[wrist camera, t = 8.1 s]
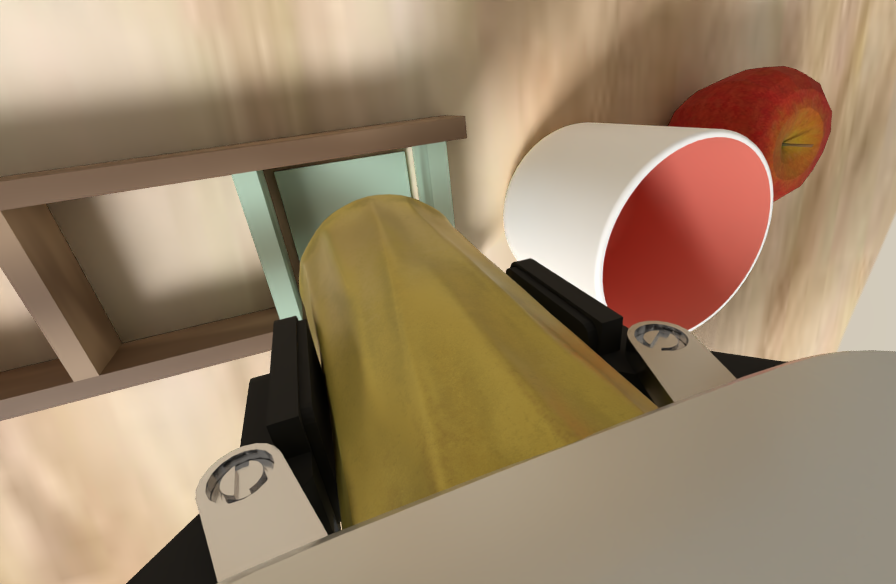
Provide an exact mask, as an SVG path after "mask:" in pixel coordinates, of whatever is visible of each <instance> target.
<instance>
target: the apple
mask: <svg viewBox="0 0 896 584" xmlns="http://www.w3.org/2000/svg"><path fill="white" fill-rule="evenodd" d="M831 118H832V111H831V109H830V106H829V104H828V102H827V100H826V98H825V95H824V93H823V90H822V88H821V85H820V84H819V83H818V82H816V81H815V80H813V79H812V78H810V77H809V76H807V75H806V74H804V73H802V72H800V71H798V70H796V69H793V68H789V67H786V66H778V67H763V68H756V69H749V70H745V71H742V72H740V73H737V74H734V75H732V76H729V77H727V78H725V79H723V80H720V81H718V82H716V83H714V84H712V85H710V86H708V87H706V88H703V89H701V90H699V91H697V92H696V93H695V94H693V95H692V96H691V97H690V98H688V99H687V100H686V101H685V102H684V103H683V104H682V105H681V106H680V107H679V108H678V109H677V110H676V111H675V112H674V114H673V116H672V119H671V121H670V123H669V125H668V126H671V127H690V128H710V129H725V130H730V131H734V132H737V133H739V134H741V135H743V136H745V137H747V138H748V139H749V140H751V141H752V142H753V143H754V144H755V145H756V146H757V147H758V148H759V149H760V150H761V152H762V153H763V155H764V157H765V159H766V161H767V163H768V166H769V169H770V172H771V176H772V183H773V202H774V201H776V200H778V199H779V198H781V197H783V196H784V195H786V194H788V193H789V192H791V191H793V190H795V189H796V188H798V187H800V186H801V185H802V184H803V182H804V181H805V180H806V178H807V177H808V176H809V174H810V173H811V172H812V170H813V168H814V167H815V165H816V163H817V161H818V160H819V158H820V156H821V154H822V153H823V150H824V148H825V145H826V142H827V140H828V137H829V134H830V132H831Z"/></svg>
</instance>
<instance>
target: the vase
mask: <svg viewBox="0 0 896 584" xmlns="http://www.w3.org/2000/svg"><path fill="white" fill-rule="evenodd" d="M299 291H300V296H301V300H302V302H303V304H304V307H305V311H306V316H307V319H308V323H309V327H310V331H311V335H312V339H313V342H314V345H315V349H316V352H317V355H318V358H319V362H320V365H321V369H322V374H323V379H324V384H325V389H326V394H327V400H328V404H329V409H330V419H331V427H332V436H333V447H334V459H335V471H336V482H337V490H338V499H339V507H340V515H341V524H342V530H343V529H345V528H348V527H350V526H353V525H356V524H358V523H361V522H363V521H366V520H368V519H371V518H373V517H376V516H378V515H381V514H384V513H386V512H389V511H391V510H394V509H396V508H399V507H402V506H404V505H407V504H409V503H412V502H414V501H417V500H420V499H422V498H425V497H427V496H430V495H432V494H435V493H438V492H440V491H443V490H445V489H448V488H451V487H453V486H456V485H458V484H461V483H463V482H466V481H469V480H471V479H474V478H476V477H479V476H482V475H484V474H487V473H490V472H492V471H495V470H498V469H500V468H503V467H506V466H509V465H511V464H514V463H517V462H520V461H523V460H525V459H528V458H531V457H534V456H537V455H540V454H542V453H545V452H548V451H551V450H554V449H557V448H560V447H563V446H566V445H568V444H571V443H574V442H577V441H579V440H581V439H583V438H585V437H587V436H589V435H592V434H594V433H596V432H598V431H601V430H603V429H606V428H608V427H611V426H613V425H616V424H618V423H621V422H623V421H626V420H629V419H631V418H634V417H636V416H639V415H642V414H644V413H647V412H650V411H652V410H655V409H658V408H659V407H657V406H656V405H655V404H654V403H653V402H652V401H651V400H649V399H648V398H647V397H646V396H645V395H644V394H642V393H641V392H640V391H639V390H638V389H637V388H636V387H634V386H633V385H632V384H631V383H630V382H629V381H628V380H626V379H625V378H624V377H623V376H622V375H621V374H620V373H618V372H617V371H616V370H615V369H614V368H613V367H611V366H610V365H609V364H608V363H607V362H606V361H605V360H603V359H602V358H601V357H600V356H599V355H598V354H597V353H596V352H594V351H593V350H592V349H591V348H590V347H589V346H588V345H587V344H585V343H584V342H583V341H582V340H581V339H580V338H579V337H577V336H576V335H575V334H574V333H573V332H572V331H570V330H569V329H568V328H567V327H566V326H565V325H563V324H562V323H561V322H560V321H559V320H557V319H556V318H555V317H554V316H553V315H552V314H551V313H549V312H548V311H547V310H546V309H545V308H544V307H543V306H542V305H541V304H539V303H538V302H537V301H536V300H535V299H534V298H533V297H532V296H531V295H530V294H528V293H527V292H526V291H525V290H524V289H523V288H522V287H521V286H519V285H518V284H517V283H516V282H515V281H514V280H513V279H511V278H510V277H509V276H508V275H507V274H506V273H504V272H503V271H502V270H501V269H500V268H499V267H497V266H496V265H495V264H494V263H493V262H491V261H490V260H489V259H488V258H487V257H486V256H484V255H483V254H482V253H481V252H480V251H479V250H478V249H477V248H475V247H474V246H473V245H472V244H471V243H470V242H469V241H468V240H467V239H466V238H465V237H464V236H463V235H462V234H461V233H460V232H459V231H457V230H456V229H455V228H454V227H453V226H452V225H451V223H450V222H449V221H448V219H447V218H446V217H445V216H444V215H443V214H442V213H441V212H439V211H438V210H436V209H435V208H433V207H431V206H429V205H427V204H425V203H423V202H421V201H419V200H416V199H414V198H412V197H407V196H403V195H393V194H384V195H373V196H367V197H364V198H361V199H358V200H355V201H353V202H351V203H349V204H347V205H345V206H343V207H342V208H340V209H338V210H337V211H335V212H334V213H332V214H331V215H330V216H329V217H328V218H327V219H325V220H324V221H323V222H322V224H321V225H320V226H319V228H318V229H317V230H316V232H315V233H314V235H313V237H312V238H311V240H310V242H309V243H308V245H307V247H306V249H305V251H304V253H303V255H302V257H301V262H300V271H299Z"/></svg>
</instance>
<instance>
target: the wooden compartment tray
mask: <svg viewBox="0 0 896 584" xmlns="http://www.w3.org/2000/svg"><path fill="white" fill-rule="evenodd" d="M464 138H467V134H466V122H465V116H449V115H444V116H437V117H429V118H422V119H415V120H408V121H401V122H393V123H386V124H379V125H372V126H365V127H357V128H350V129H343V130H336V131H329V132H321V133H314V134H307V135H300V136H293V137H285V138H278V139H271V140H264V141H257V142H249V143H242V144H235V145H228V146H220V147H213V148H206V149H199V150H192V151H184V152H177V153H170V154H163V155H156V156H148V157H141V158H134V159H127V160H120V161H112V162H105V163H98V164H91V165H84V166H76V167H69V168H62V169H55V170H48V171H40V172H33V173H26V174H19V175H12V176H4V177H0V267H1V269H2V270H3V272H4V273H5V275H6V276H7V278H8V280H9V281H10V283H11V284H12V286H13V287H14V289H15V291H16V292H17V294H18V295H19V297H20V298H21V300H22V301H23V303H24V305H25V306H26V308H27V309H28V311H29V312H30V314H31V316H32V317H33V319H34V320H35V322H36V323H37V325H38V327H39V328H40V330H41V331H42V333H43V334H44V336H45V337H46V339H47V341H48V342H49V344H50V345H51V347H52V348H53V350H54V352H55V353H56V355H57V356H58V358H59V359H55V360H51V361H47V362H42V363H38V364H34V365H30V366H26V367H21V368H17V369H13V370H9V371H4V372H0V421H2V420H6V419H10V418H14V417H18V416H22V415H25V414H29V413H33V412H37V411H41V410H45V409H48V408H52V407H56V406H60V405H64V404H68V403H71V402H75V401H79V400H83V399H87V398H90V397H94V396H98V395H102V394H106V393H110V392H113V391H117V390H121V389H125V388H129V387H133V386H136V385H140V384H144V383H148V382H152V381H156V380H159V379H163V378H167V377H171V376H175V375H178V374H182V373H186V372H190V371H194V370H198V369H201V368H205V367H209V366H213V365H217V364H221V363H224V362H228V361H232V360H236V359H240V358H244V357H247V356H251V355H255V354H259V353H263V352H267V351H270V350H272V338H273V324H274V321H276V320H280V319H284V318H288V317H292V316H297V318H298V320H303V319H306V320H307V322H308V319H307V316H306V311H305V307H304V304H303V302H302V300H301V296H300V293H299V290H298V286H297V283H296V280H295V276H294V273H293V270H292V266H291V263H290V260H289V256H288V253H287V250H286V246H285V243H284V240H283V236H282V233H281V230H280V226H279V223H278V220H277V216H276V213H275V210H274V206H273V203H272V200H271V196H270V193H269V190H268V186H267V183H266V180H265V176H264V173H263V170H265V169H271V168H278V167H284V166H291V165H297V164H304V163H310V162H316V161H323V160H329V159H336V158H342V157H348V156H355V155H361V154H368V153H374V152H381V151H387V150H393V149H400V148H406V147H412V151H413V158H414V165H415V172H416V179H417V187H418V194H419V201H421V202H423V203H425V204H427V205H429V206H431V207H433V208H435V209H436V210H438V211H439V212H441V213H442V214H443V215H444V216H445V217H446V218H447V219H448V221H449V222H450V223H451V225H452V226H453V227H454V228H455V222H454V213H453V203H452V194H451V184H450V175H449V165H448V156H447V146H446V141H451V140H458V139H464ZM226 175H232V178H233V181H234V184H235V187H236V190H237V193H238V196H239V199H240V202H241V205H242V208H243V211H244V214H245V217H246V220H247V223H248V226H249V229H250V232H251V235H252V238H253V241H254V244H255V247H256V250H257V253H258V256H259V259H260V262H261V265H262V268H263V271H264V274H265V277H266V280H267V283H268V286H269V289H270V292H271V295H272V298H273V301H274V303H275V306H276V307H275V308H270V309H266V310H262V311H258V312H253V313H249V314H245V315H241V316H237V317H232V318H228V319H224V320H220V321H216V322H211V323H207V324H203V325H199V326H194V327H190V328H186V329H182V330H178V331H173V332H169V333H165V334H161V335H156V336H152V337H148V338H144V339H140V340H135V341H131V342H127V343H123V344H122V343H121V341H120V339H119V337H118V335H117V333H116V332H115V330H114V328H113V326H112V324H111V322H110V321H109V319H108V317H107V315H106V313H105V311H104V310H103V308H102V306H101V304H100V302H99V300H98V299H97V297H96V295H95V293H94V291H93V289H92V288H91V286H90V284H89V282H88V280H87V278H86V277H85V275H84V273H83V271H82V269H81V267H80V266H79V264H78V262H77V260H76V258H75V256H74V255H73V253H72V251H71V249H70V247H69V245H68V244H67V242H66V240H65V238H64V236H63V234H62V233H61V231H60V229H59V227H58V225H57V223H56V222H55V220H54V218H53V216H52V214H51V212H50V211H49V209H48V207H47V205H46V204H47V203H53V202H59V201H66V200H72V199H79V198H85V197H92V196H98V195H104V194H111V193H117V192H124V191H130V190H137V189H143V188H149V187H156V186H162V185H169V184H175V183H181V182H188V181H194V180H201V179H207V178H214V177H220V176H226ZM274 175H275V178H276V181H277V185H278V188H279V192H280V195H281V199H282V202H283V206H284V209H285V213H286V216H287V219H288V223H289V226H290V230H291V233H292V237H293V240H294V244H295V247H296V251H297V254H298V258H299V261H300V262H301V257H302V255H303V253H304V251H305V249H306V247H307V245H308V243H309V242H310V240H311V238H312V237H313V235H314V233H315V232H316V230H317V229H318V228H319V226H320V225H321V224H322V222H323V221H324V220H325V219H327V218H328V217H329V216H330V215H331V214H332V213H334V212H335V211H337V210H338V209H340V208H342V207H343V206H345V205H347V204H349V203H351V202H353V201H355V200H358V199H361V198H364V197H367V196H373V195H384V194H393V195H403V196H407V197H411V192H410V186H409V179H408V172H407V165H406V159H405V152H404V151H401V152H395V153H388V154H382V155H376V156H369V157H363V158H357V159H350V160H344V161H338V162H331V163H325V164H318V165H312V166H306V167H299V168H293V169H287V170H280V171H274ZM308 325H309V323H308ZM309 329H310V327H309ZM310 332H311V331H310Z"/></svg>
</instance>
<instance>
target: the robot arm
mask: <svg viewBox="0 0 896 584" xmlns="http://www.w3.org/2000/svg"><path fill="white" fill-rule="evenodd" d="M506 274H507V275H508V276H509V277H510V278H511V279H513V280H514V281H515V282H516V283H517V284H518V285H519V286H521V287H522V288H523V289H524V290H525V291H526V292H527V293H528V294H530V295H531V296H532V297H533V298H534V299H535V300H536V301H537V302H538V303H539V304H541V305H542V306H543V307H544V308H545V309H546V310H547V311H548V312H549V313H551V314H552V315H553V316H554V317H555V318H556V319H557V320H559V321H560V322H561V323H562V324H563V325H565V326H566V327H567V328H568V329H569V330H570V331H572V332H573V333H574V334H575V335H576V336H577V337H579V338H580V339H581V340H582V341H583V342H584V343H585V344H587V345H588V346H589V347H590V348H591V349H592V350H593V351H594V352H596V353H597V354H598V355H599V356H600V357H601V358H602V359H603V360H605V361H606V362H607V363H608V364H609V365H610V366H611V367H613V368H614V369H615V370H616V371H617V372H618V373H620V374H621V375H622V376H623V377H624V378H625V379H626V380H628V381H629V382H630V383H631V384H632V385H633V386H634V387H636V388H637V389H638V390H639V391H640V392H641V393H642V394H644V395H645V396H646V397H647V398H648V399H649V400H651V401H652V402H653V403H654V404H655V405H656V406H657V407H659V408H658V409H655V410H652V411H650V412H647V413H644V414H642V415H639V416H636V417H634V418H631V419H629V420H626V421H623V422H621V423H618V424H616V425H613V426H611V427H608V428H606V429H603V430H601V431H598V432H596V433H594V434H592V435H589V436H587V437H585V438H583V439H581V440H579V441H577V442H574V443H571V444H568V445H566V446H563V447H560V448H557V449H554V450H551V451H548V452H545V453H542V454H540V455H537V456H534V457H531V458H528V459H525V460H523V461H520V462H517V463H514V464H511V465H509V466H506V467H503V468H500V469H498V470H495V471H492V472H490V473H487V474H484V475H482V476H479V477H476V478H474V479H471V480H469V481H466V482H463V483H461V484H458V485H456V486H453V487H451V488H448V489H445V490H443V491H440V492H438V493H435V494H432V495H430V496H427V497H425V498H422V499H420V500H417V501H414V502H412V503H409V504H407V505H404V506H402V507H399V508H396V509H394V510H391V511H389V512H386V513H384V514H381V515H378V516H376V517H373V518H371V519H368V520H366V521H363V522H361V523H358V524H356V525H353V526H350V527H348V528H345V529H343V530H341V526H340V522H341V515H340V507H339V499H338V490H337V482H336V471H335V459H334V447H333V436H332V427H331V419H330V409H329V404H328V400H327V394H326V389H325V384H324V379H323V374H322V369H321V365H320V362H319V358H318V355H317V352H316V349H315V345H314V342H313V339H312V335H311V332H310V329H309V325H308V322H307V320H306V319H303V320H298V318H297V316H292V317H288V318H284V319H280V320H276V321H274V324H273V338H272V351H271V365H270V374H266V375H262V376H259V377H255V378H252V379H250V383H249V389H248V396H247V403H246V410H245V417H244V424H243V431H242V438H241V445H240V448H238V449H235V450H233V451H231V452H229V453H228V454H226V455H225V456H223V457H221V458H220V459H218V460H217V461H216V462H215V463H214V464H213V465H212V466H211V467H210V468H208V470H207V471H206V472H205V474H204V475H203V476H202V478H201V479H200V481H199V484H198V486H197V489H196V502H197V506H198V510H199V514H198V515H197V516H196V517H195V518H194V519H193V520H192V521H191V522H190V523H189V524H188V525H187V526H186V527H185V528H184V529H183V530H181V531H180V532H179V533H178V534H177V535H176V536H175V537H174V538H173V539H172V540H171V541H170V542H169V543H168V544H167V545H166V546H165V547H164V548H163V549H162V550H161V551H160V552H159V553H158V554H157V555H155V556H154V557H153V558H152V559H151V560H150V561H149V562H148V563H147V564H146V565H145V566H144V567H143V568H142V569H141V570H140V571H139V572H138V573H137V574H136V575H135V576H134V577H133V578H132V579H130V580H129V581H128V582H127V583H126V584H896V352H893V351H874V350H871V351H843V352H835V353H828V354H820V355H815V356H810V357H806V358H802V359H798V360H793V361H790V362H782V361H775V360H768V359H761V358H755V357H748V356H741V355H734V354H727V353H720V352H713V351H709V350H708V349H707V348H706V347H705V346H704V345H703V344H702V343H701V342H700V341H699V340H698V339H697V338H696V337H695V336H694V335H693V334H692V333H691V332H689V331H688V330H687V329H685V328H683V327H681V326H679V325H676V324H672V323H669V322H663V321H644V322H639V323H636V324H634V325H632V326H631V327H630V328H627V327H626V326H624V325H623V316H621V315H619V314H618V313H616V312H615V311H613V310H612V309H610V308H609V307H607V306H605V305H604V304H602V303H601V302H599V301H598V300H596V299H594V298H593V297H591V296H590V295H588V294H587V293H585V292H584V291H582V290H580V289H579V288H577V287H576V286H574V285H573V284H571V283H569V282H568V281H566V280H565V279H563V278H562V277H560V276H559V275H557V274H555V273H554V272H552V271H551V270H549V269H548V268H546V267H544V266H543V265H541V264H540V263H538V262H537V261H535V260H534V259H531V258H529V259H525V260H521V261H517V262H513V263H512V264H511V267H510V268H508V269H507V270H506Z"/></svg>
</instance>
